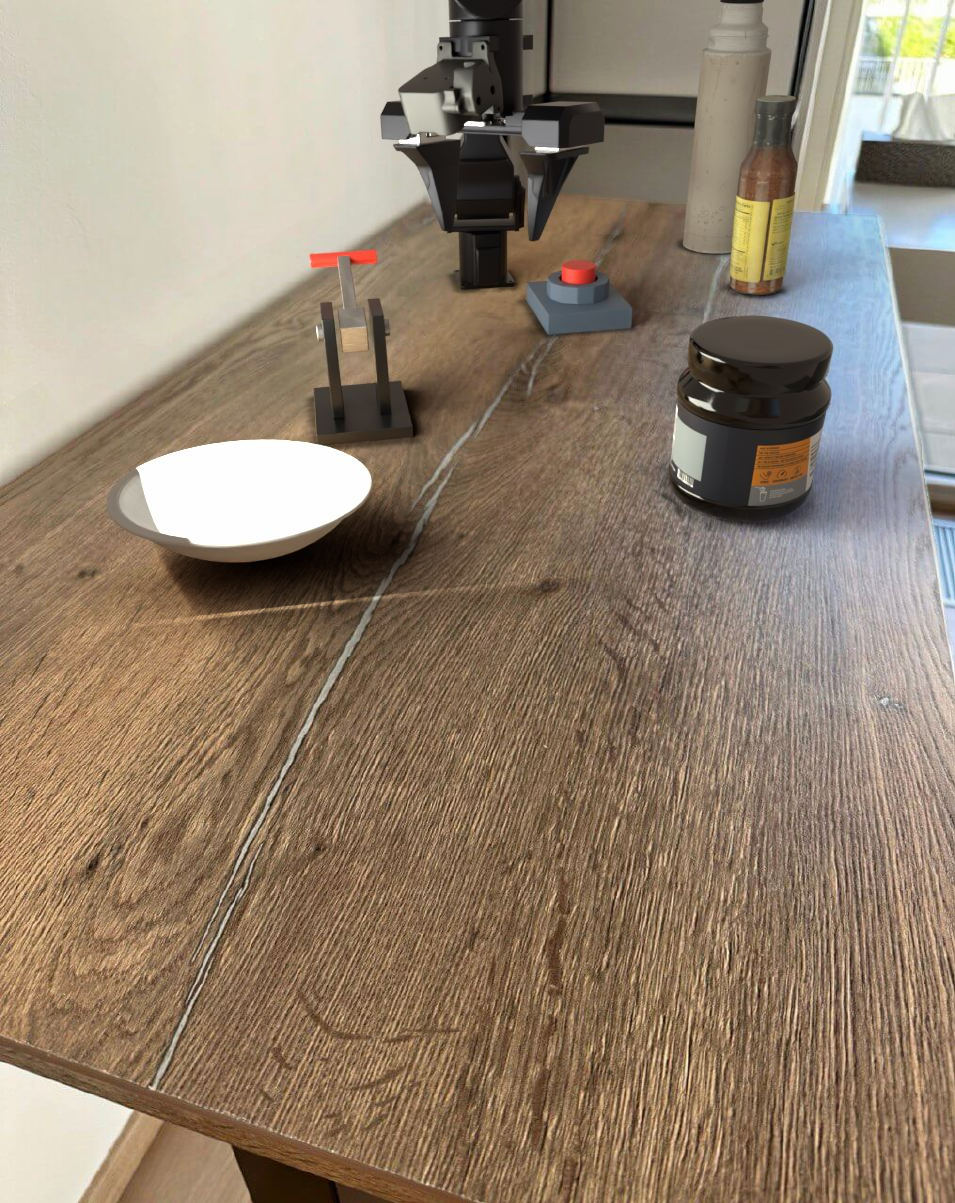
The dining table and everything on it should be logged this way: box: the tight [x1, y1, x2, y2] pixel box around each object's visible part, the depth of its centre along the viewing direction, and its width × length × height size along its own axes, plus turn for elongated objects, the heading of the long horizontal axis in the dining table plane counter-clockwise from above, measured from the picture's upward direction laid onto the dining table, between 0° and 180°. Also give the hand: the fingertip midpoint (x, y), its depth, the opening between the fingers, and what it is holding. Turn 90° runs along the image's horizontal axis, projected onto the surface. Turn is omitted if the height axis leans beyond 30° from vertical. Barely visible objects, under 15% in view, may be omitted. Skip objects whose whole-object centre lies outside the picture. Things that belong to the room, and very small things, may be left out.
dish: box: [105, 439, 373, 563], centre depth 65 cm, size 18×14×5 cm
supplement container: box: [667, 315, 834, 523], centre depth 69 cm, size 10×10×12 cm
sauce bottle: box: [728, 94, 798, 296], centre depth 105 cm, size 7×6×20 cm
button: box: [561, 259, 597, 284], centre depth 102 cm, size 4×4×2 cm
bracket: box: [313, 297, 414, 446], centre depth 81 cm, size 10×8×10 cm
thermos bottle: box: [682, 0, 773, 255], centre depth 117 cm, size 8×8×28 cm
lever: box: [309, 249, 378, 354], centre depth 83 cm, size 13×6×2 cm, turn 9°
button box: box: [526, 269, 634, 336], centre depth 104 cm, size 11×9×4 cm
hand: (489, 235), depth 81 cm, fingers open, 9 cm apart
